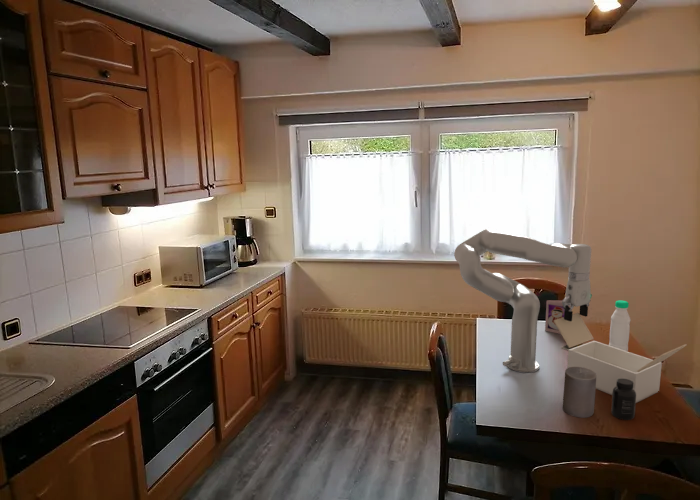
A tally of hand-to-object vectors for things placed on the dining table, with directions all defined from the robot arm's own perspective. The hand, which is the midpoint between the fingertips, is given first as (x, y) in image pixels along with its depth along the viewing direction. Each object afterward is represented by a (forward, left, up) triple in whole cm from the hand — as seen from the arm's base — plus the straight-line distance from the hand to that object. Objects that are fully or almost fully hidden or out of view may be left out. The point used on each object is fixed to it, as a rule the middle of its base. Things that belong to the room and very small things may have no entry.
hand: (575, 317), depth 204 cm
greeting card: (+28, +27, -20) cm, 44 cm away
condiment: (+16, +11, -20) cm, 28 cm away
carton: (-3, -18, -20) cm, 27 cm away
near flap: (-3, -35, -4) cm, 35 cm away
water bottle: (+19, -7, -20) cm, 29 cm away
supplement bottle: (-21, -33, -20) cm, 44 cm away
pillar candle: (-30, -23, -20) cm, 43 cm away
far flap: (-3, -2, -4) cm, 5 cm away
